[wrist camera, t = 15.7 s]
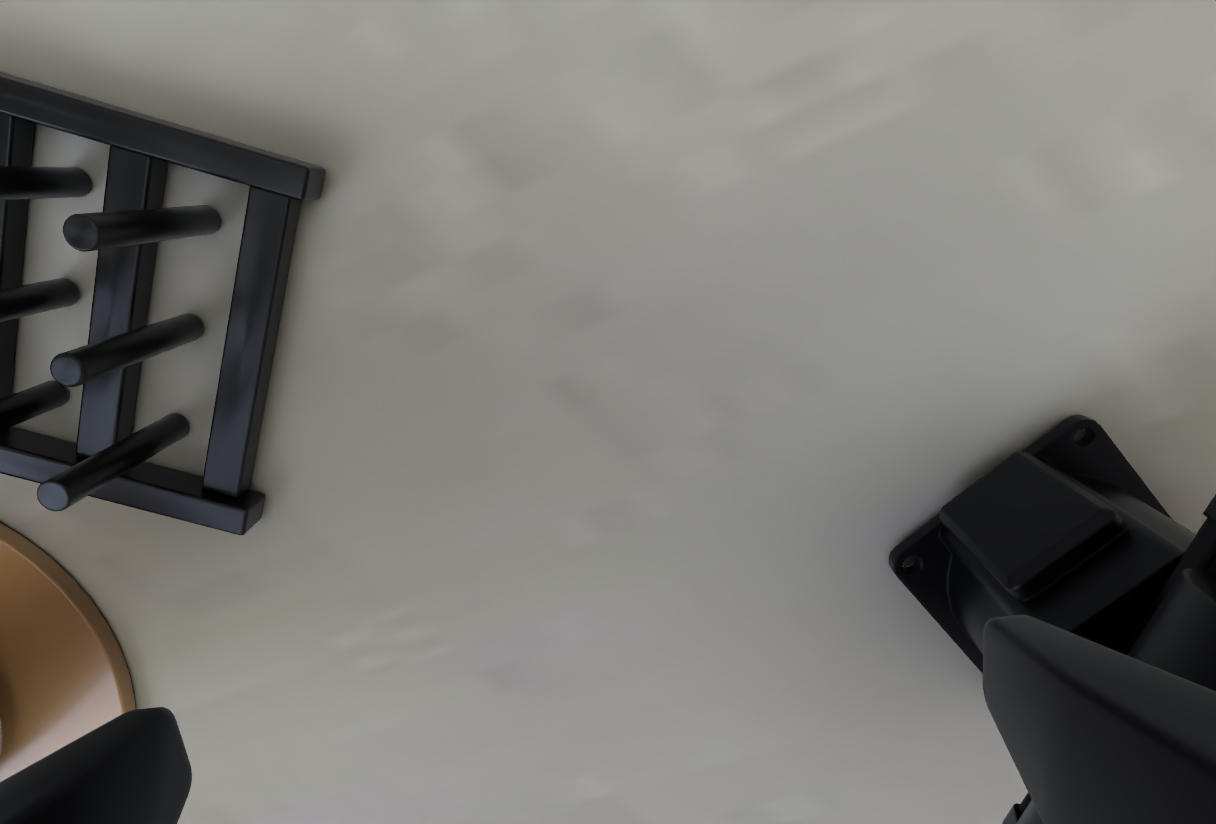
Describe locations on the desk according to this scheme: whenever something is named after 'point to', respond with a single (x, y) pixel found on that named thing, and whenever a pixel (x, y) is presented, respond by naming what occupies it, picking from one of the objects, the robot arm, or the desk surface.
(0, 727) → the soda can
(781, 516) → the desk surface
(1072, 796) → the robot arm
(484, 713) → the desk surface
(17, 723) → the cork trivet
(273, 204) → the drying rack
